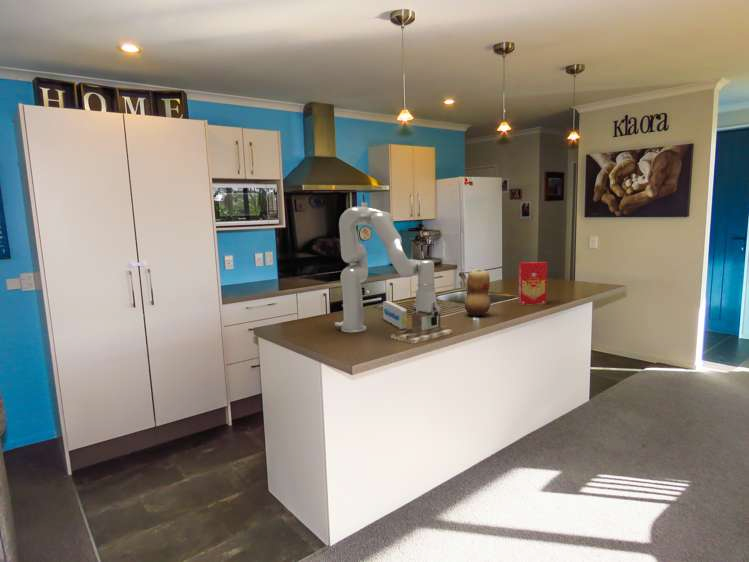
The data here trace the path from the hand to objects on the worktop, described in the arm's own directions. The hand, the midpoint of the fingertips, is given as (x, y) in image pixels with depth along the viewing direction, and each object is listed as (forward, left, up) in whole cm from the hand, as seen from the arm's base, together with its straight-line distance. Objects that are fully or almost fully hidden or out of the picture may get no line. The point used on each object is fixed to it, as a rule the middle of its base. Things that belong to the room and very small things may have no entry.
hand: (426, 323), depth 222 cm
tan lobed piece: (+32, +36, -5) cm, 49 cm away
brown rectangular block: (0, 0, -4) cm, 4 cm away
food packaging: (+71, +62, -5) cm, 94 cm away
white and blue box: (-13, +21, -6) cm, 25 cm away
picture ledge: (-2, -2, -5) cm, 6 cm away
